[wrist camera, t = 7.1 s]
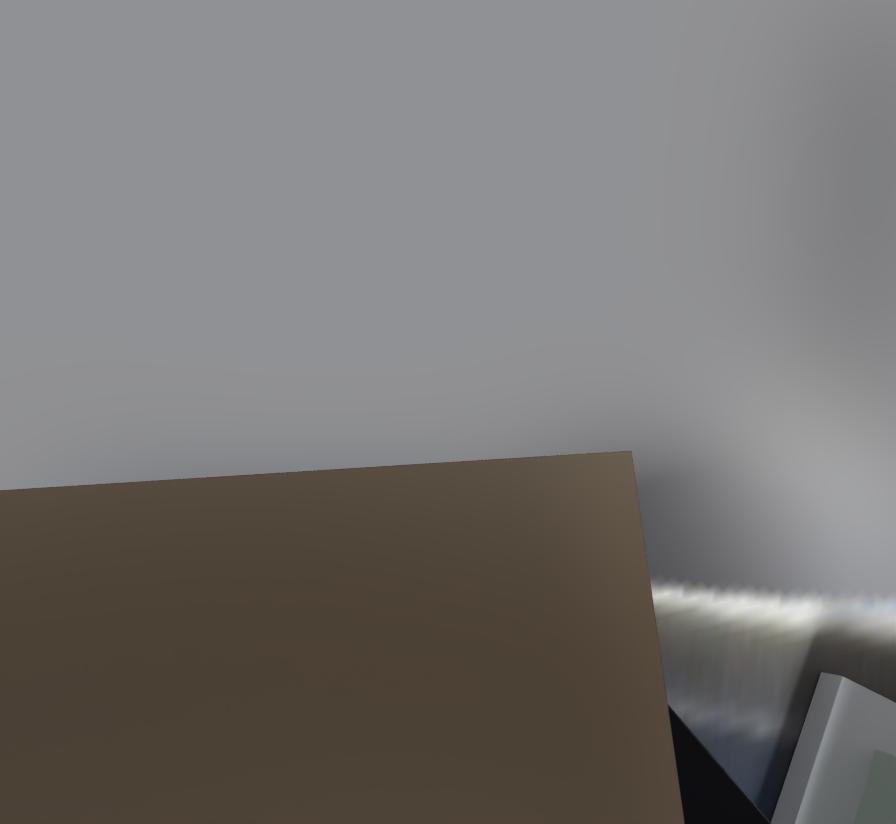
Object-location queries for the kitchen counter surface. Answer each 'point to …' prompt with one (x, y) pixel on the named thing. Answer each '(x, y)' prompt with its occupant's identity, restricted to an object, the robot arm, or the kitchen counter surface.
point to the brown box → (335, 649)
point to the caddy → (842, 759)
